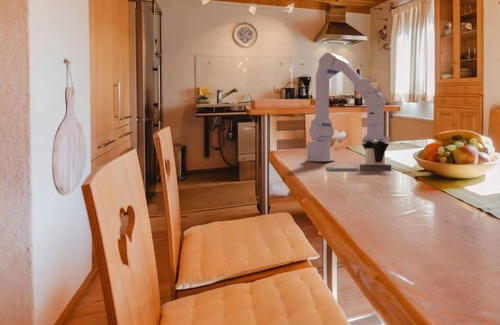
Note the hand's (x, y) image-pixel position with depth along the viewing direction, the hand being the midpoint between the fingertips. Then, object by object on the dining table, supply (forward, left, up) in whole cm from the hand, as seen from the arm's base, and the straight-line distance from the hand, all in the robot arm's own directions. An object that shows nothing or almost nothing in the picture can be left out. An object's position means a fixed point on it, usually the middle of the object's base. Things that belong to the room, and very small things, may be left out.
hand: (375, 162), depth 122 cm
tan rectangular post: (0, 0, -3) cm, 3 cm away
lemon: (+14, +10, -3) cm, 18 cm away
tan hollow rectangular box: (0, 0, -3) cm, 3 cm away
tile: (-9, -8, -3) cm, 13 cm away
